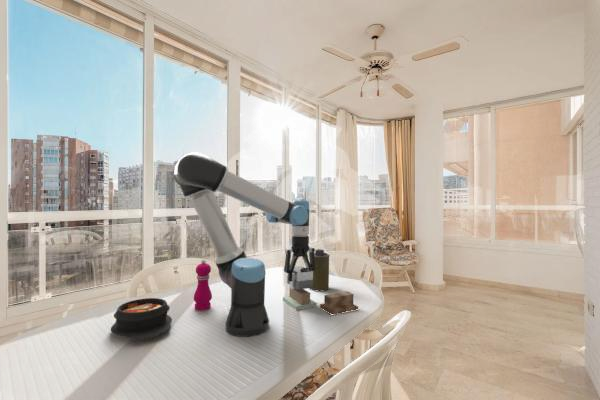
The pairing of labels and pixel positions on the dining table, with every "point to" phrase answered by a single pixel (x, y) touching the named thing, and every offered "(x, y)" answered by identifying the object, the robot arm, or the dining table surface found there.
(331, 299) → the stand
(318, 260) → the canister
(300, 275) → the cover plate
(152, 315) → the casserole
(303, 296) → the stand
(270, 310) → the dining table surface
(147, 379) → the dining table surface
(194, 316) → the dining table surface
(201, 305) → the pepper mill
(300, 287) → the base plate
